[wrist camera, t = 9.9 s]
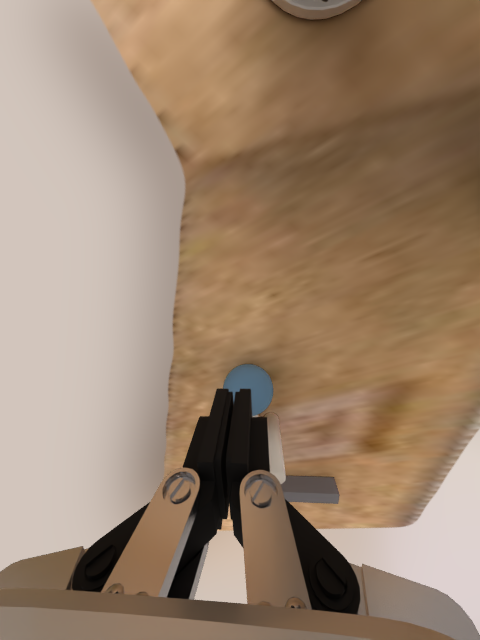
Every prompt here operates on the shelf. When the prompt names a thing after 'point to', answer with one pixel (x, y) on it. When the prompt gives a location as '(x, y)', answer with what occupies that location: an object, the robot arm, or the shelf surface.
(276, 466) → the pin
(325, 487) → the grey long square bar
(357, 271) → the shelf surface
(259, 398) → the ball
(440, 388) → the shelf surface
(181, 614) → the robot arm
